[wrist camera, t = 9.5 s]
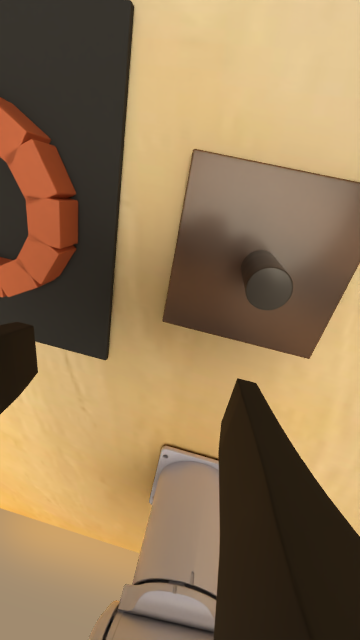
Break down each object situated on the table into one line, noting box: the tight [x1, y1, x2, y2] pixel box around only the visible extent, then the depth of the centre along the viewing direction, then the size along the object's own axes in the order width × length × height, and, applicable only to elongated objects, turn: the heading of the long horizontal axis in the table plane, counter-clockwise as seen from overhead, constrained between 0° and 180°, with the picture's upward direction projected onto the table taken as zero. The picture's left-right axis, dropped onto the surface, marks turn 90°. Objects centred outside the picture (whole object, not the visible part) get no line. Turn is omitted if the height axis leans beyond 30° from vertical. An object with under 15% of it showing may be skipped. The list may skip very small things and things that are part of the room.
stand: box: [163, 149, 360, 359], centre depth 13 cm, size 10×10×5 cm
